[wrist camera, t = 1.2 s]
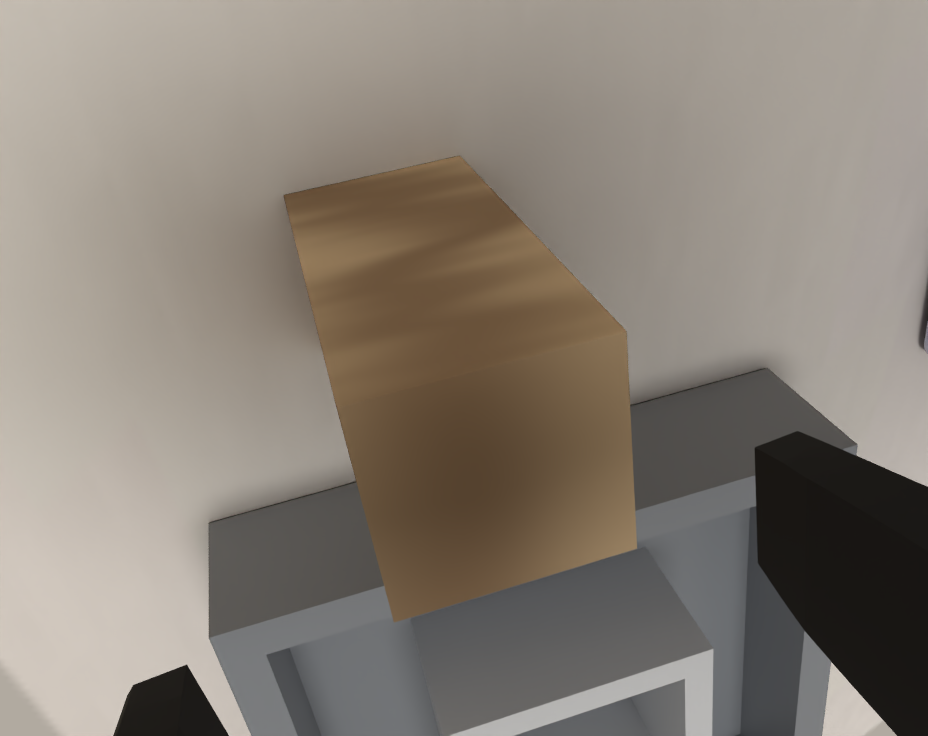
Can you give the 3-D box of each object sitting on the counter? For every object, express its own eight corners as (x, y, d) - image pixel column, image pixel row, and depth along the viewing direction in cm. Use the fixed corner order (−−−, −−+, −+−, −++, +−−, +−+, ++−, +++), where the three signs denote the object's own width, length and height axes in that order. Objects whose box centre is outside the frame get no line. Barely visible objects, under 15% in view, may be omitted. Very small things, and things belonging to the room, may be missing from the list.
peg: (459, 155, 19) (626, 330, 11) (482, 312, 21) (637, 548, 14) (283, 195, 18) (336, 407, 11) (324, 352, 21) (394, 622, 13)
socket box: (767, 368, 24) (885, 468, 20) (749, 720, 33) (829, 843, 28) (208, 523, 22) (209, 673, 18) (342, 860, 30) (363, 1017, 26)
